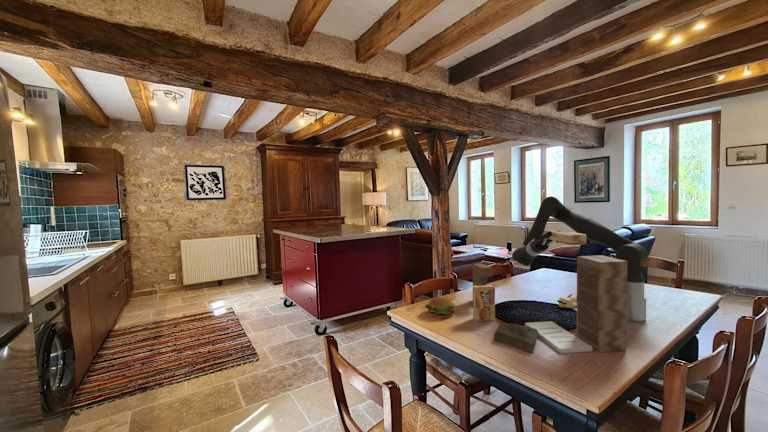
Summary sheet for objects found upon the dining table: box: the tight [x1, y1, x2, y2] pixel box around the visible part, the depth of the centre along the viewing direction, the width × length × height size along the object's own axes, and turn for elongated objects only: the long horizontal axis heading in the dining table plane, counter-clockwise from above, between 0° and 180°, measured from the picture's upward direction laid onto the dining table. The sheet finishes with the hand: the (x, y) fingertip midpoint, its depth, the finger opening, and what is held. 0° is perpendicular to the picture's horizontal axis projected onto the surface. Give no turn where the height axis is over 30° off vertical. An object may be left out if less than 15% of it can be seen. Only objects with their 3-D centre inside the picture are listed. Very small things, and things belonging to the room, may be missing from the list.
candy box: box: [472, 284, 496, 322], centre depth 144 cm, size 9×4×15 cm, turn 92°
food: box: [424, 296, 456, 319], centre depth 153 cm, size 14×14×8 cm
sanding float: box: [544, 229, 587, 246], centre depth 138 cm, size 7×21×4 cm, turn 4°
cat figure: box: [556, 293, 577, 309], centre depth 160 cm, size 10×9×25 cm
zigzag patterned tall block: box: [576, 254, 628, 353], centre depth 117 cm, size 10×12×32 cm
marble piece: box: [493, 322, 538, 354], centre depth 123 cm, size 17×15×4 cm
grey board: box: [524, 320, 593, 354], centre depth 124 cm, size 12×24×2 cm, turn 4°
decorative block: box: [472, 263, 493, 287], centre depth 167 cm, size 11×6×20 cm, turn 12°
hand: (555, 232), depth 143 cm, fingers closed on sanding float, 3 cm apart
